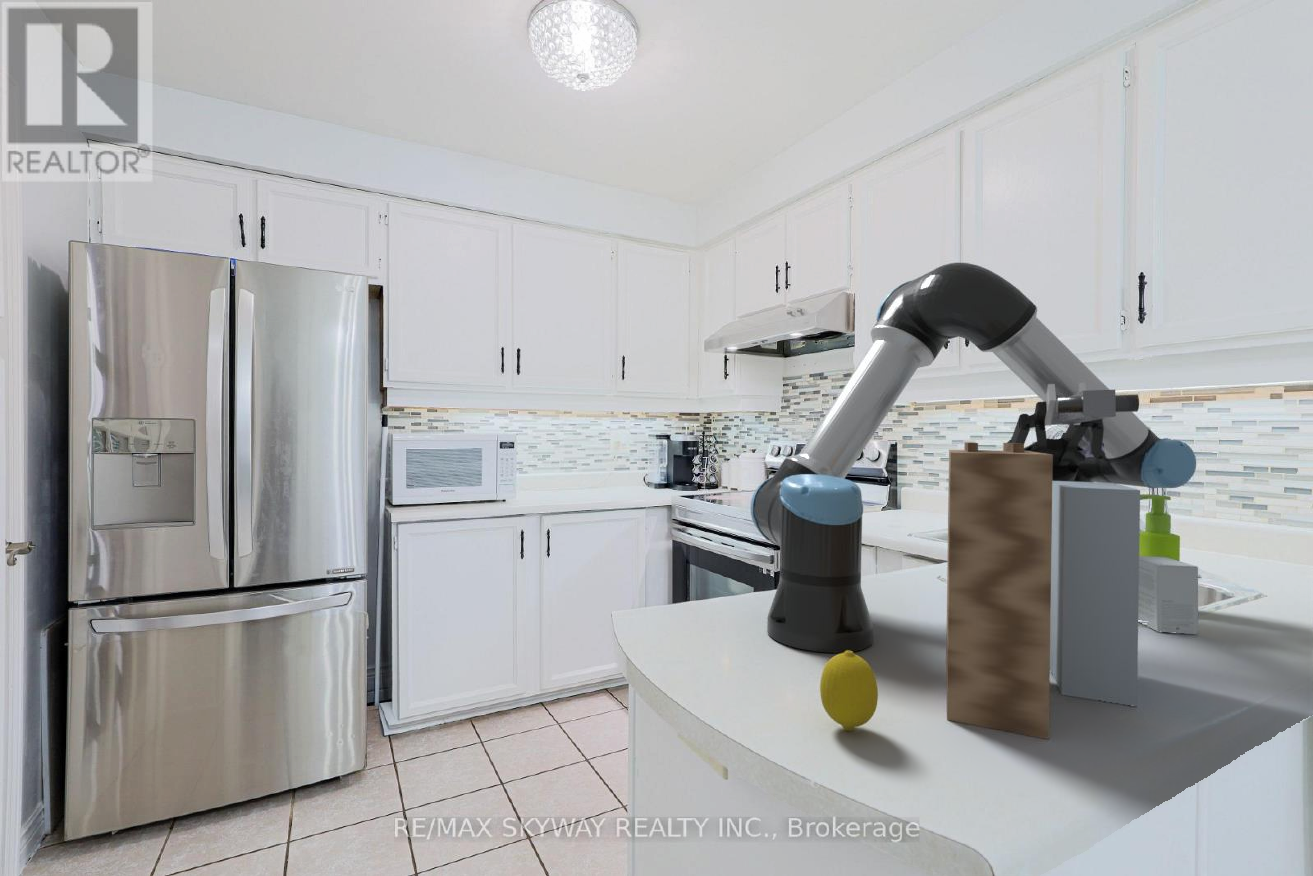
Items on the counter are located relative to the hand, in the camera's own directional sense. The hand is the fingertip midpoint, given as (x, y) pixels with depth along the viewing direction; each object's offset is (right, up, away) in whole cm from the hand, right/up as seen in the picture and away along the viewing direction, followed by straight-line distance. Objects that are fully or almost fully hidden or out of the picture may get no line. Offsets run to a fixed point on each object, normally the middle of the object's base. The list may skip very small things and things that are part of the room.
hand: (1067, 391), depth 82 cm
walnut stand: (-17, -36, -12) cm, 42 cm away
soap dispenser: (+32, -36, +24) cm, 54 cm away
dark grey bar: (-3, -4, -6) cm, 8 cm away
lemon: (-37, -36, -21) cm, 55 cm away
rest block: (-3, -36, -8) cm, 37 cm away
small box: (+25, -36, +14) cm, 46 cm away
